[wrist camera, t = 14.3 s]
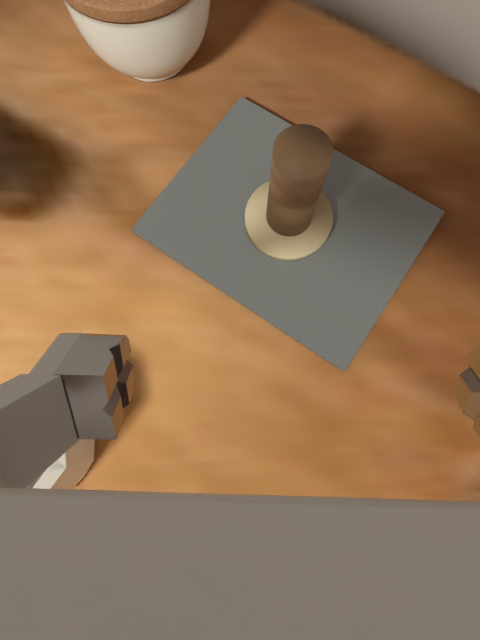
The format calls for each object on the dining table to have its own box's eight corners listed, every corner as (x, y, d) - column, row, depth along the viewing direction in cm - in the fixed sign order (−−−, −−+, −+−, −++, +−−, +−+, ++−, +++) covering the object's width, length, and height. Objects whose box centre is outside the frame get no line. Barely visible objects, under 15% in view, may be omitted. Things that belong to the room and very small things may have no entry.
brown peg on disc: (228, 231, 28) (222, 163, 21) (275, 169, 30) (286, 83, 22) (300, 277, 28) (321, 223, 20) (346, 211, 29) (382, 136, 21)
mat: (133, 232, 29) (131, 229, 29) (241, 102, 32) (241, 96, 31) (343, 371, 26) (345, 370, 26) (441, 215, 29) (445, 211, 29)
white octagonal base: (-18, 460, 25) (-72, 468, 21) (45, 382, 26) (6, 375, 22) (53, 519, 24) (11, 540, 20) (114, 436, 26) (87, 439, 21)
